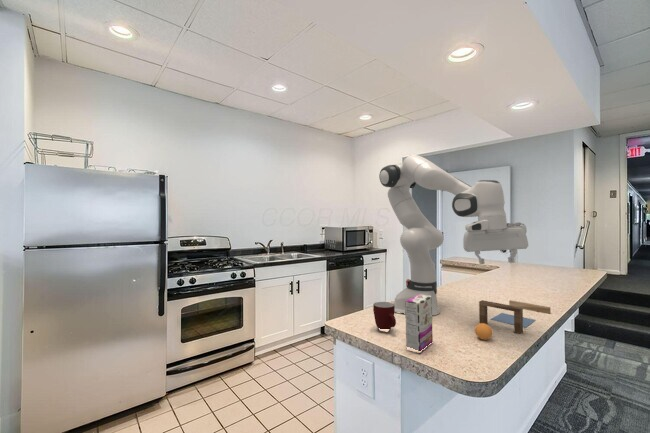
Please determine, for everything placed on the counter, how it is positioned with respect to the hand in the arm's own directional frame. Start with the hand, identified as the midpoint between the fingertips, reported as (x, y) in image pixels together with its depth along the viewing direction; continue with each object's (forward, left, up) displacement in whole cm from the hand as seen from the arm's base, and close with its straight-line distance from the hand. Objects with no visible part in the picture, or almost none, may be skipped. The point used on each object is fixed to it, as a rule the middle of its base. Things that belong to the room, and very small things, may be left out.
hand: (496, 263), depth 107 cm
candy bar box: (-26, -16, -27) cm, 41 cm away
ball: (-5, -2, -24) cm, 25 cm away
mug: (-38, -5, -27) cm, 47 cm away
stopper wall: (+21, +44, -27) cm, 56 cm away
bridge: (+3, +12, -27) cm, 30 cm away
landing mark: (+10, +25, -27) cm, 38 cm away
